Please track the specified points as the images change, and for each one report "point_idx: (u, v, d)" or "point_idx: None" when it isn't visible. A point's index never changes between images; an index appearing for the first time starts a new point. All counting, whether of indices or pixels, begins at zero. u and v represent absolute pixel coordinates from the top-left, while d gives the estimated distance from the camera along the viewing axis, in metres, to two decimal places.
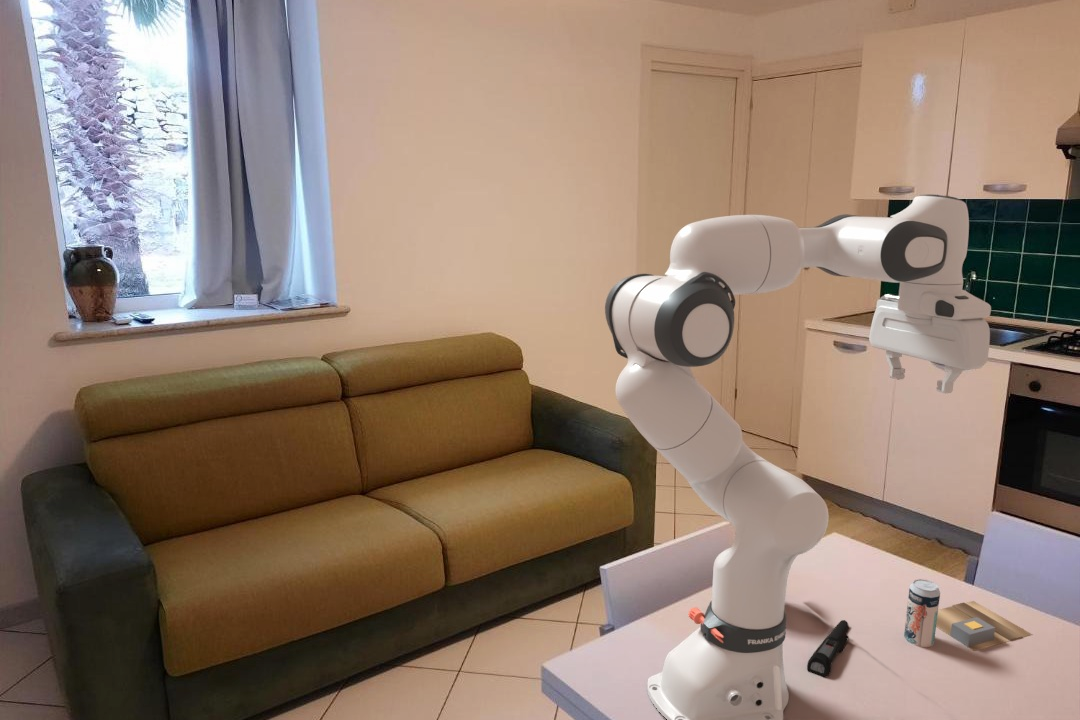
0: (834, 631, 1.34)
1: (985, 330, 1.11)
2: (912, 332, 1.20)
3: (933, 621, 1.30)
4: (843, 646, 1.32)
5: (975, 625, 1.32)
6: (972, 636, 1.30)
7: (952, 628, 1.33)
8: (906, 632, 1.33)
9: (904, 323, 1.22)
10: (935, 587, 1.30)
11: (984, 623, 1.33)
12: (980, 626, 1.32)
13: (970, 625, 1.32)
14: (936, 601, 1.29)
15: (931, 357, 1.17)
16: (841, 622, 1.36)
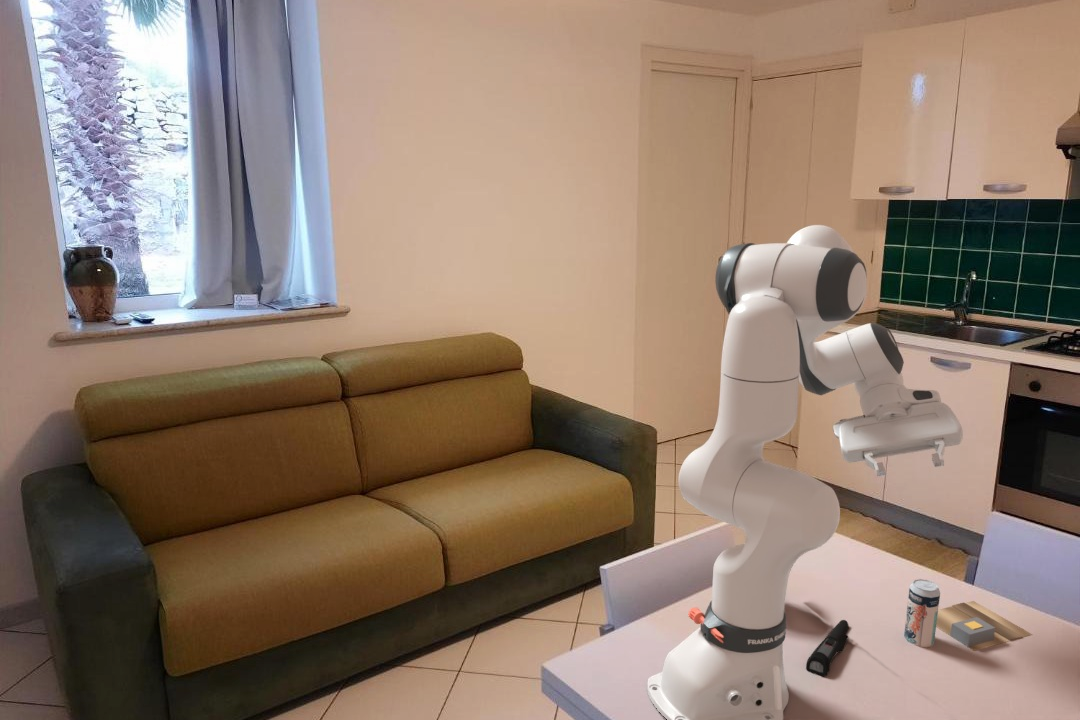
0: (834, 631, 1.34)
1: None
2: (888, 427, 1.37)
3: (933, 621, 1.30)
4: (843, 646, 1.32)
5: (975, 625, 1.32)
6: (972, 636, 1.30)
7: (952, 628, 1.33)
8: (906, 632, 1.33)
9: (876, 425, 1.38)
10: (935, 587, 1.30)
11: (984, 623, 1.33)
12: (980, 626, 1.32)
13: (970, 625, 1.32)
14: (936, 601, 1.29)
15: (921, 435, 1.33)
16: (841, 622, 1.36)
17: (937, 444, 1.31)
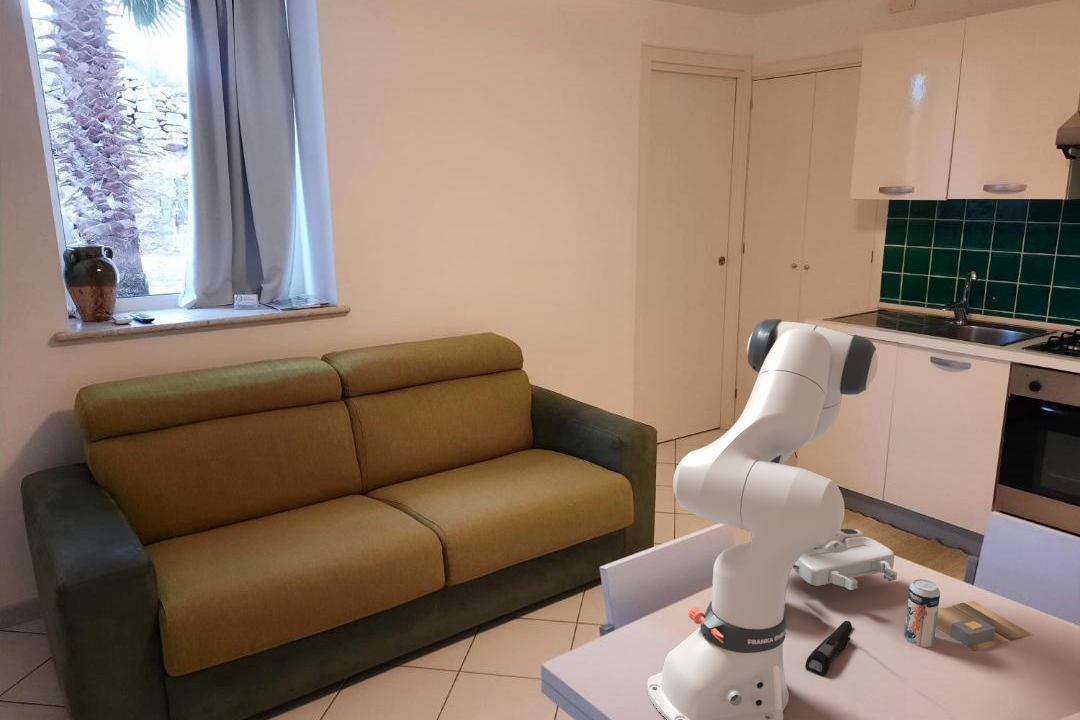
0: (836, 631, 1.33)
1: None
2: (837, 555, 1.49)
3: (933, 621, 1.30)
4: (844, 646, 1.32)
5: (975, 625, 1.32)
6: (972, 636, 1.30)
7: (952, 628, 1.33)
8: (906, 632, 1.33)
9: (826, 553, 1.49)
10: (935, 587, 1.30)
11: (984, 623, 1.33)
12: (980, 626, 1.32)
13: (970, 625, 1.32)
14: (936, 601, 1.29)
15: (868, 557, 1.47)
16: (844, 622, 1.36)
17: (883, 563, 1.46)
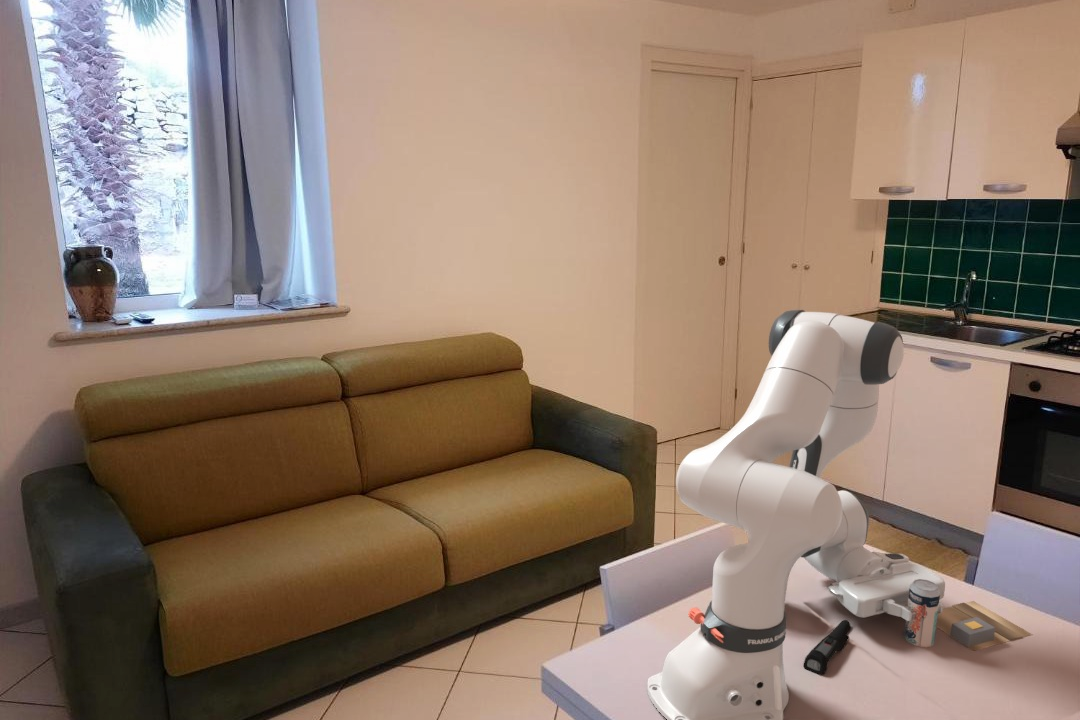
0: (834, 630, 1.34)
1: None
2: (883, 582, 1.38)
3: (933, 621, 1.30)
4: (842, 645, 1.32)
5: (975, 625, 1.32)
6: (972, 636, 1.30)
7: (952, 628, 1.33)
8: (906, 632, 1.33)
9: (871, 581, 1.38)
10: (935, 587, 1.30)
11: (984, 623, 1.33)
12: (980, 626, 1.32)
13: (970, 625, 1.32)
14: (936, 601, 1.29)
15: None
16: (843, 622, 1.36)
17: None
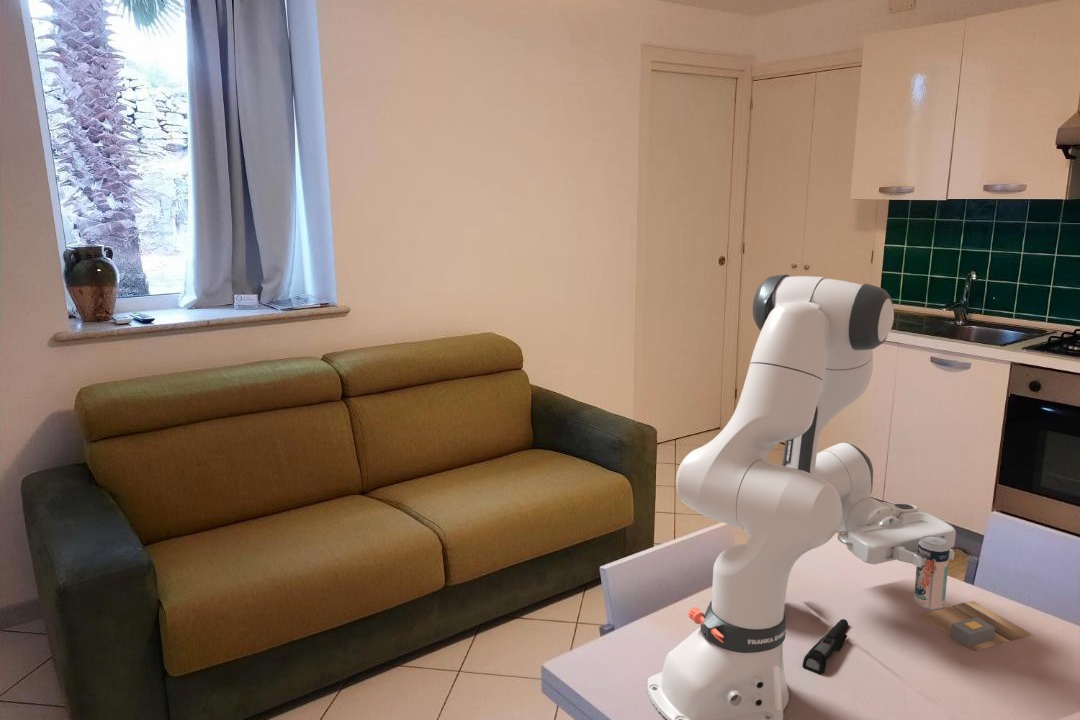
0: (833, 629, 1.34)
1: None
2: (893, 531, 1.36)
3: (943, 576, 1.28)
4: (841, 644, 1.32)
5: (975, 625, 1.32)
6: (972, 636, 1.30)
7: (952, 628, 1.33)
8: (916, 589, 1.31)
9: (881, 530, 1.37)
10: (944, 542, 1.29)
11: (984, 623, 1.33)
12: (980, 626, 1.32)
13: (970, 625, 1.32)
14: (945, 556, 1.28)
15: (927, 533, 1.35)
16: (841, 621, 1.37)
17: None
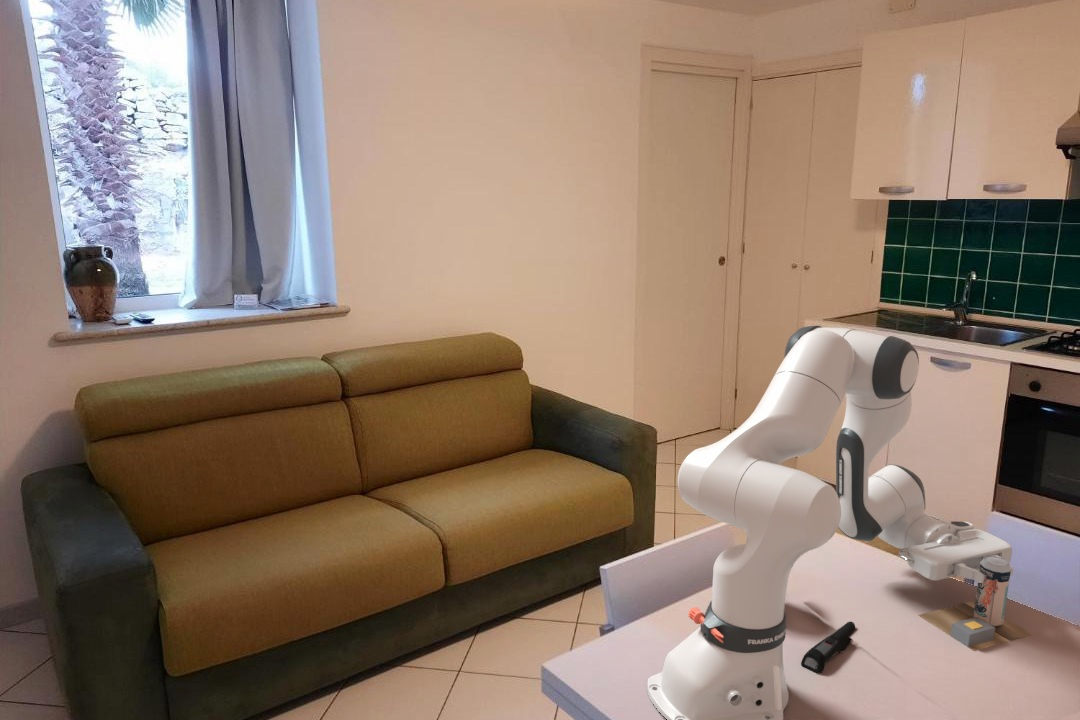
0: (837, 631, 1.34)
1: None
2: (952, 548, 1.42)
3: (1004, 596, 1.34)
4: (844, 646, 1.32)
5: (975, 625, 1.32)
6: (972, 636, 1.30)
7: (952, 628, 1.33)
8: (976, 606, 1.38)
9: (940, 547, 1.43)
10: (1006, 563, 1.35)
11: (984, 623, 1.33)
12: (980, 626, 1.32)
13: (970, 625, 1.32)
14: (1007, 576, 1.34)
15: (986, 550, 1.41)
16: (847, 623, 1.36)
17: None
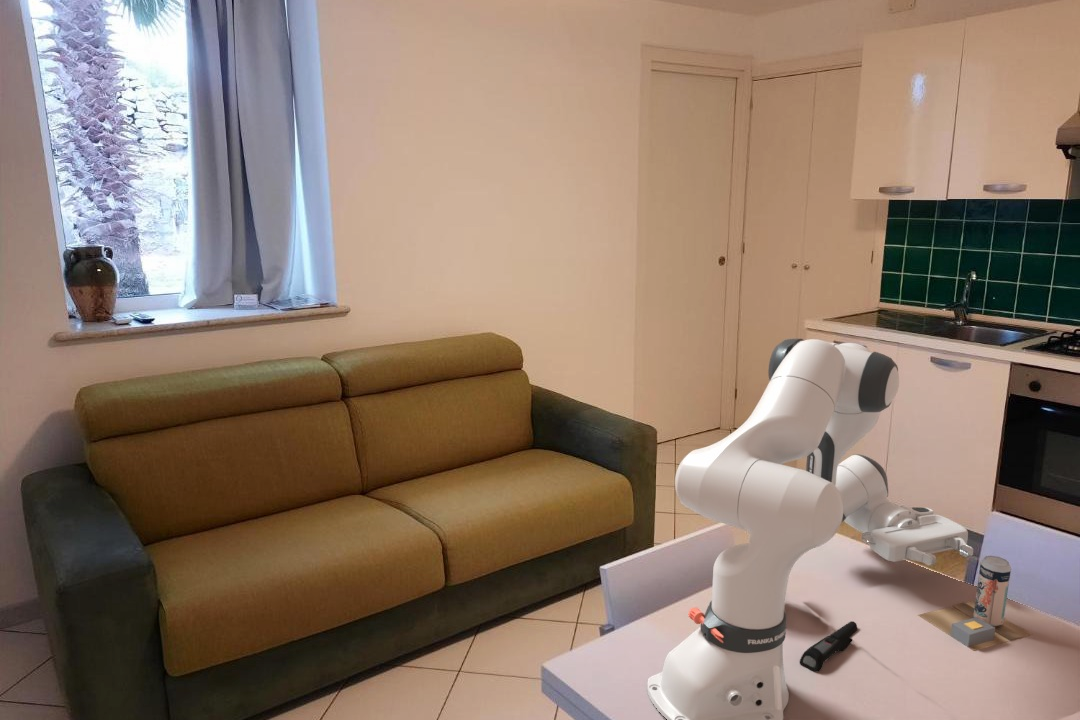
0: (838, 630, 1.34)
1: None
2: (912, 532, 1.51)
3: (1004, 596, 1.34)
4: (845, 645, 1.32)
5: (975, 625, 1.32)
6: (972, 636, 1.30)
7: (952, 628, 1.33)
8: (976, 606, 1.38)
9: (900, 531, 1.52)
10: (1006, 563, 1.35)
11: (984, 623, 1.33)
12: (980, 626, 1.32)
13: (970, 625, 1.32)
14: (1007, 576, 1.34)
15: (942, 533, 1.50)
16: (849, 623, 1.36)
17: (958, 540, 1.49)
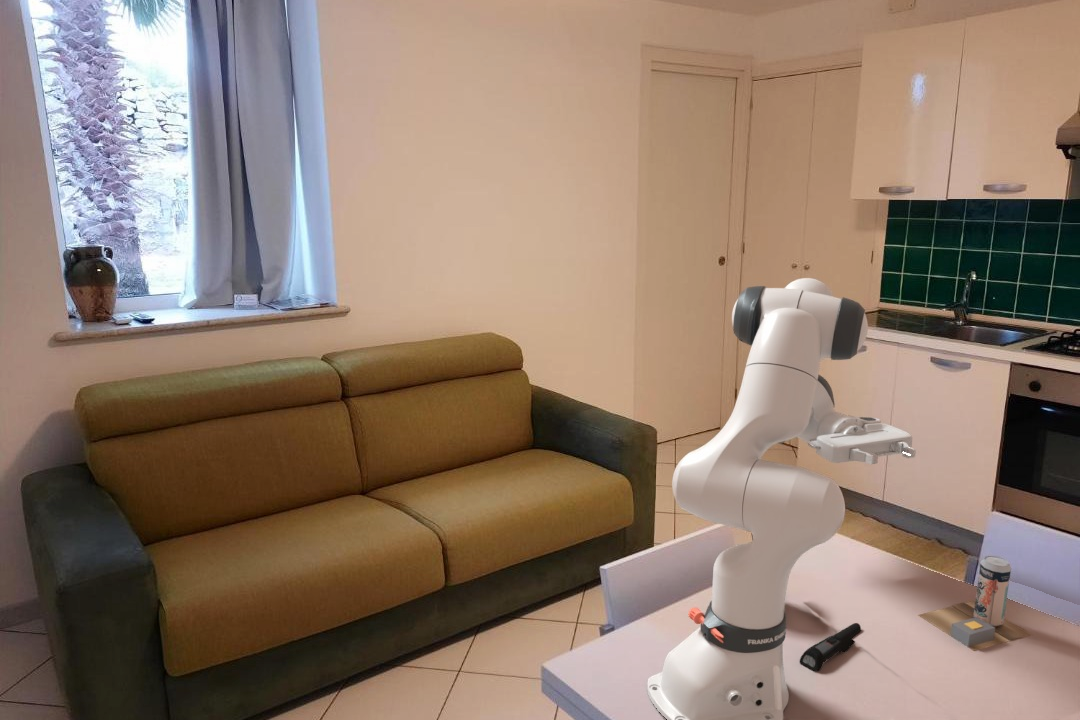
0: (841, 631, 1.33)
1: None
2: (857, 437, 1.54)
3: (1004, 596, 1.34)
4: (847, 647, 1.31)
5: (975, 625, 1.32)
6: (972, 636, 1.30)
7: (952, 628, 1.33)
8: (976, 606, 1.38)
9: (846, 436, 1.54)
10: (1006, 563, 1.35)
11: (984, 623, 1.33)
12: (980, 626, 1.32)
13: (970, 625, 1.32)
14: (1007, 576, 1.34)
15: (887, 438, 1.52)
16: (853, 624, 1.36)
17: (901, 443, 1.52)
